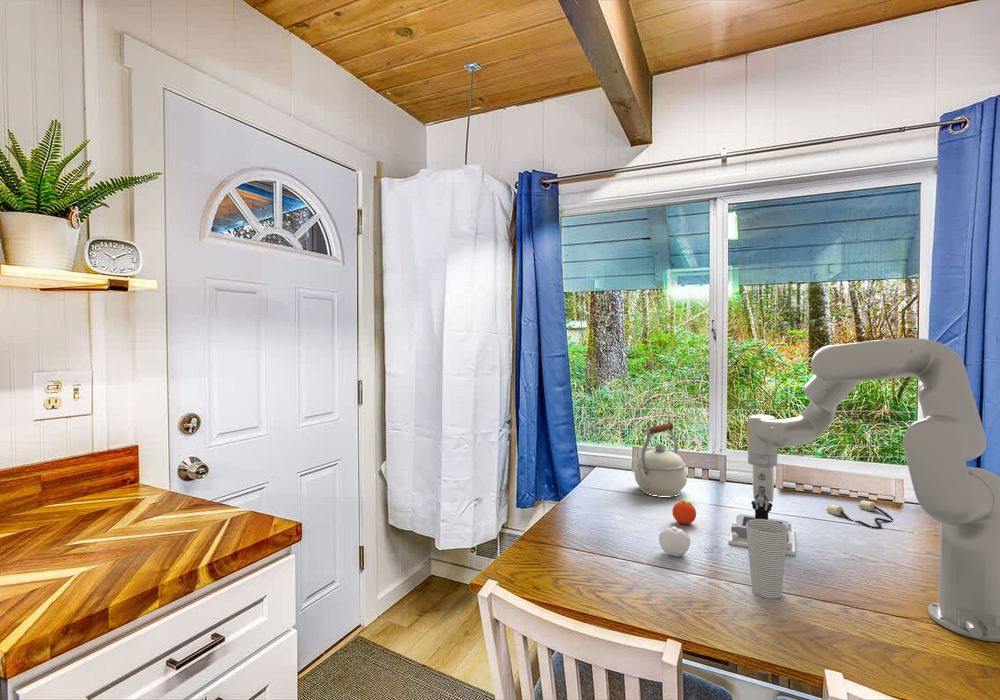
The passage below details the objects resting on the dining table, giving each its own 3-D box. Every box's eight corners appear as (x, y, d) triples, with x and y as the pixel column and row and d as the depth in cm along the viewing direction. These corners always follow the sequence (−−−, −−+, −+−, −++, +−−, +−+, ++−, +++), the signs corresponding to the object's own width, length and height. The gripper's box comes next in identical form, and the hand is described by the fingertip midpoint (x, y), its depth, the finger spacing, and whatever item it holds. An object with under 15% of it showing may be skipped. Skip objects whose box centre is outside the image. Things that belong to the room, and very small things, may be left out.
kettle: (655, 480, 200) (655, 418, 199) (699, 491, 186) (698, 424, 185) (616, 494, 184) (615, 426, 183) (660, 507, 170) (660, 434, 169)
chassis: (795, 555, 133) (795, 540, 133) (728, 543, 141) (728, 529, 141) (793, 531, 148) (794, 517, 148) (734, 521, 156) (734, 509, 156)
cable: (912, 525, 153) (913, 513, 153) (871, 532, 148) (871, 520, 148) (863, 507, 168) (863, 497, 168) (824, 513, 163) (824, 503, 163)
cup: (750, 579, 121) (750, 515, 120) (791, 590, 115) (791, 524, 115) (741, 594, 114) (741, 527, 114) (783, 606, 109) (784, 536, 108)
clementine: (696, 519, 159) (696, 497, 159) (702, 528, 152) (702, 505, 152) (670, 519, 160) (669, 497, 159) (675, 527, 153) (675, 504, 152)
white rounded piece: (689, 550, 137) (689, 522, 137) (691, 563, 130) (691, 533, 129) (658, 547, 139) (658, 520, 139) (659, 560, 132) (659, 531, 132)
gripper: (777, 467, 134) (776, 530, 135) (777, 453, 149) (777, 510, 150) (745, 464, 138) (745, 525, 139) (749, 450, 153) (749, 506, 154)
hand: (762, 517), depth 144 cm, fingers open, 9 cm apart
